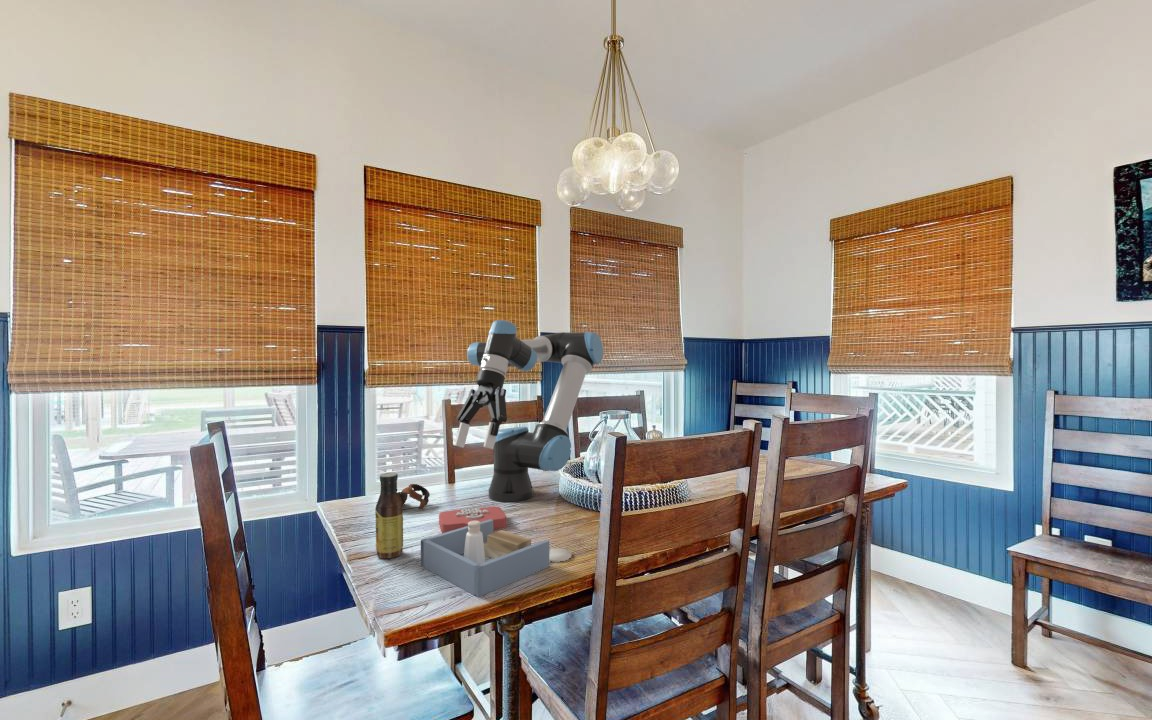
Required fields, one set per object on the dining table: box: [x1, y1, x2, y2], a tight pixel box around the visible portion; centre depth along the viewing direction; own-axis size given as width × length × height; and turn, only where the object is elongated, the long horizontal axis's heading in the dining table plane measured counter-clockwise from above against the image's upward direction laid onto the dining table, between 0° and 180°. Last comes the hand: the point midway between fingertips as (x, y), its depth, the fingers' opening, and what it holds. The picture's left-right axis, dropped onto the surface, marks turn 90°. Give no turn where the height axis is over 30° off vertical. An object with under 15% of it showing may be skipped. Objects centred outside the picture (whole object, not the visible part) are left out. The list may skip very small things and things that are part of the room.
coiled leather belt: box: [397, 483, 431, 510], centre depth 162 cm, size 12×10×8 cm
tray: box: [420, 519, 550, 598], centre depth 119 cm, size 20×22×6 cm
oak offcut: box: [487, 529, 532, 554], centre depth 123 cm, size 5×10×3 cm, turn 53°
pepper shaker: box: [463, 521, 486, 564], centre depth 117 cm, size 5×5×11 cm
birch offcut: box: [484, 542, 506, 559], centre depth 124 cm, size 5×13×3 cm, turn 48°
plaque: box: [438, 505, 507, 534], centre depth 146 cm, size 18×4×15 cm
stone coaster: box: [549, 547, 573, 563], centre depth 125 cm, size 7×7×1 cm
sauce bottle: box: [374, 471, 404, 559], centre depth 125 cm, size 7×6×20 cm
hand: (473, 447), depth 139 cm, fingers open, 13 cm apart
